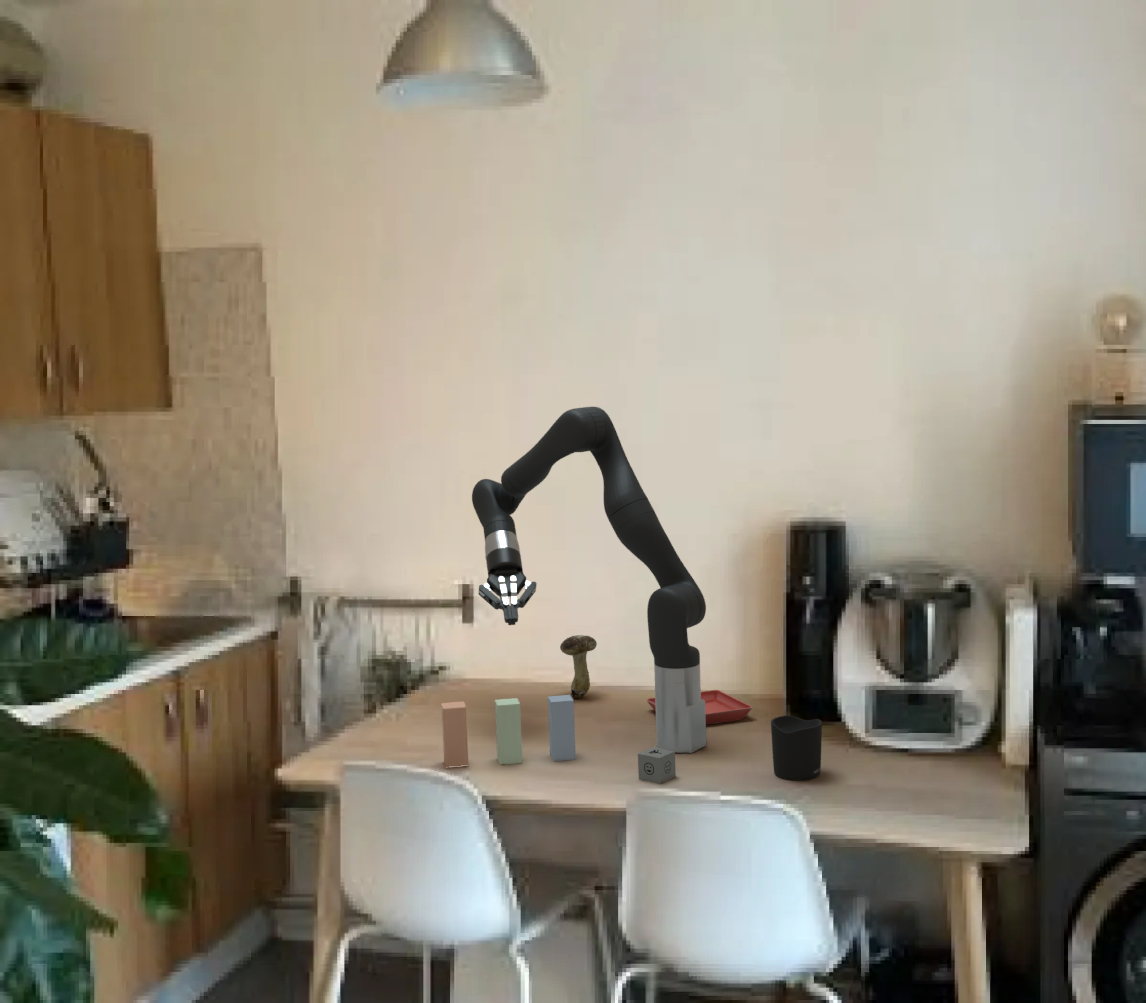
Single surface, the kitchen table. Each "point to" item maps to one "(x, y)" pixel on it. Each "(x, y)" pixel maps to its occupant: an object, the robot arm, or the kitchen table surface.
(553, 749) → the slate blue block
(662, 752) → the dice cube
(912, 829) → the kitchen table surface
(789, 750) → the pen holder
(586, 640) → the mushroom
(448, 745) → the terracotta block
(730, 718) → the red square tray
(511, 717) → the sage green block
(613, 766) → the kitchen table surface
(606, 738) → the kitchen table surface
